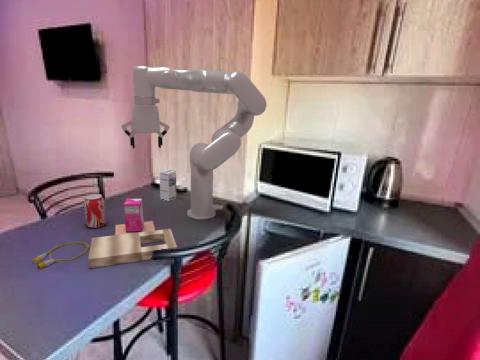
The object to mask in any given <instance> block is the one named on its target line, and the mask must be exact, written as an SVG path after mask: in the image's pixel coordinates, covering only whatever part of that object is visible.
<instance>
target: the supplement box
mask: <svg viewBox="0 0 480 360" xmlns="http://www.w3.org/2000/svg"><path fill="white" fill-rule="evenodd" d="M143 211H144V210H143V199H142V198H126V199H125V201H124V203H123V213H124V214H123V215H124V224H125V228H126V233H130V232H142V230H143V227H144V222H145V221H144V212H143Z"/></svg>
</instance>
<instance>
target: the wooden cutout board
mask: <svg viewBox="0 0 480 360" xmlns="http://www.w3.org/2000/svg"><path fill="white" fill-rule="evenodd" d="M157 242H158V243H159V242H163V244H158V245H150V246H142V245H143V244H144V245H145V244H149V243H157ZM89 248H90V249H89V253H88V259H87V261H88V269H94V268H101V267H107V266H113V265H120V264H127V263H134V262H140V261H147V260H152V259H151V257H152V252H153V251H155V250H161V249H175V248H177V249H178V245H177V243H176V240H175V238H174V235H173V232H172V229H171V228H165V229H158V230H156V229H155V231H147V232H139V233H130V234H122V235H115V234H114V235H108V236H107V235H105V236H97V237H91V242H90V246H89Z"/></svg>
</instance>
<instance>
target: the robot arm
mask: <svg viewBox="0 0 480 360" xmlns="http://www.w3.org/2000/svg"><path fill="white" fill-rule="evenodd" d="M132 81H133V82H132V85H133V100H134V101H133V102H134V103H133V104H132V105H131V117H130V118H131V119H130V120H129V121H128V122H125V123H123V124H121V126H120V127H121V129H122V130H123V132H124V133H125V134H126V135H127V137H129V141H130V144H129V145H130V146H131V147H132V149H135V148H136V147H135V146H136V145H135V137H134V136H135V135H136V134H138V133H139V134H153V133H154V134H157V135H158V137H157V146H158V148H159V149H161V148H162V146H163V137H164V136H165V135H166V134H167V133H168V131H169V129H170V125H168V124H167V123H164V122H163V121H161V120H160V112H159V108H158V105H157V104H158V103H160V99H159V98H156V88H159V89H164V90H178V91H179V90H180V91H181V90H182V91H191V92H195V93H196V92H197V93H209V94H222V95H223V94H225V95H235V97H236V99H237V100H238V101H237V108H236V109H237V111H236V114H235V115H234V116H233V118H231V120H229V121H228V122H227V123H225V124H223V125H222V126H220V128H218V129H217V130H216V131H214V132H213V134H212V135H211V140H210V141H211V142H210V143H208V144H207V143H205V142H197V143H195V144H194V145H193V146H192V147H191V148H190V151H189V165H190V167H189V168H190V208H189V209H187V211H186V212H187V213H186V215H187V217H188V218H190V219H193V220H196V221H197V220H200V221H201V220H204V221H205V220H210V219H214V218H215V216H216V215H217V212H216V211H219V210H221V211H222V210H224V205H222V204H221V205H219V204H218V203H216V204H214V201H213V199H214V197H213V196H214V195H213V194H214V170H215V169H217V168H218V167H220V166H222V165H223V164H224V163H225V162H226V161H228V160H230V159H231V158H232V157H233V156H234V155H235V154H236V153H237V152H238V151H239V149H240V148H241V146H242V137H244V136H245V135H247V133H248V132H249V131H250V130H251V128H252V127H253V124H254V119H255V116H256V117H257V116H260V115H262V114H264V113H265V111H266V109H267V104H268V103H267V100H266V98H265V96H264V95H263V94H262V93H261V91H260V90H259V89H258V88H257V86H256V85H255V84H254V83H253V81H252V80H251V79H250V78H249V76H248V75H246V74H245V73H244V72H242V71H239V70H238V71H237V70H236V71H223V70H212V69H203V68H202V69H201V68H200V69H193V70H192V69H191V70H183V69H182V70H181V69H173V68H171V67H168V66H161V67H160V66H159V67H152V66H148V65H147V66H146V65H135V66H133V67H132ZM129 126H131V132H130V131H129V130H128V128H127V127H129ZM161 127H163V128H164V130H162V132H161Z"/></svg>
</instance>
